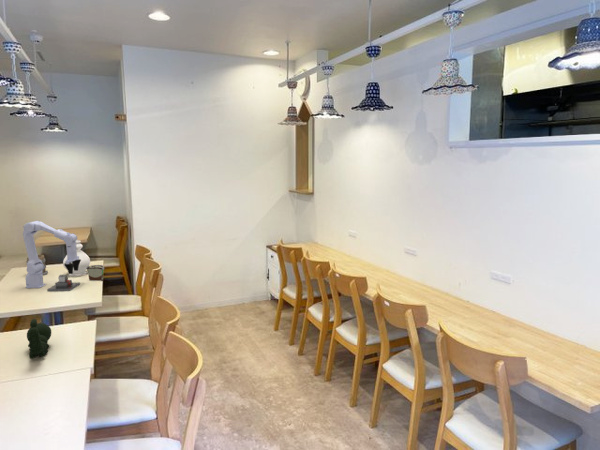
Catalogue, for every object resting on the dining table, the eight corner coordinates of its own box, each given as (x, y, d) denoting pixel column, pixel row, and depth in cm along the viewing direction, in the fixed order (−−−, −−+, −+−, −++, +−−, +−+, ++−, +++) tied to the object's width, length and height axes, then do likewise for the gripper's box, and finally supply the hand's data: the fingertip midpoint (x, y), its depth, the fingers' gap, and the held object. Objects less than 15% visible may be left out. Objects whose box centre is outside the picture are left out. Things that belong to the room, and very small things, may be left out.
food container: (108, 278, 295) (107, 264, 294) (103, 280, 289) (102, 267, 288) (92, 278, 296) (91, 264, 295) (87, 280, 290) (86, 266, 289)
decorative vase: (67, 272, 312) (64, 239, 308) (93, 270, 317) (90, 238, 314) (61, 278, 295) (58, 244, 291) (88, 276, 301) (86, 242, 297)
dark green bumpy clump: (50, 364, 174) (53, 336, 196) (45, 323, 170) (49, 300, 192) (23, 369, 170) (30, 340, 192) (18, 327, 166) (25, 303, 187)
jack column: (59, 286, 271) (58, 276, 270) (62, 284, 275) (61, 274, 274) (65, 286, 271) (64, 275, 270) (68, 284, 275) (67, 274, 274)
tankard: (28, 273, 308) (26, 254, 306) (48, 271, 314) (46, 252, 311) (24, 280, 290) (21, 259, 288) (45, 278, 296) (42, 258, 293)
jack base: (47, 291, 266) (46, 283, 265) (58, 285, 280) (58, 277, 279) (69, 291, 267) (69, 283, 266) (80, 284, 280) (79, 277, 280)
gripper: (72, 254, 266) (74, 274, 268) (83, 249, 281) (84, 269, 283) (61, 254, 266) (63, 275, 268) (72, 249, 280) (74, 269, 282)
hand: (73, 272), depth 275 cm, fingers open, 7 cm apart
